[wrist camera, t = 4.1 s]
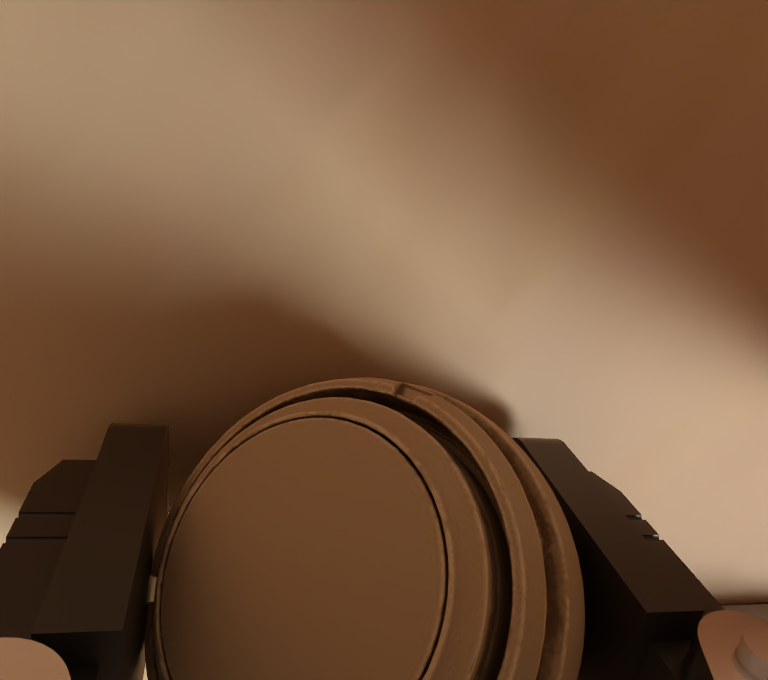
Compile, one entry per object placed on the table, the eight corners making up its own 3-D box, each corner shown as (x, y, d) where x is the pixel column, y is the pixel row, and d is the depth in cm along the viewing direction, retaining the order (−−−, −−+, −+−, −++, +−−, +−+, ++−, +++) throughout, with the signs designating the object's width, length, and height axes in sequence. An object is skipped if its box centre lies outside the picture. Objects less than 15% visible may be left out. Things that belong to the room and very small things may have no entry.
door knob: (522, 329, 10) (767, 566, 5) (461, 591, 11) (601, 939, 7) (170, 307, 8) (80, 585, 4) (165, 602, 10) (98, 1026, 6)
